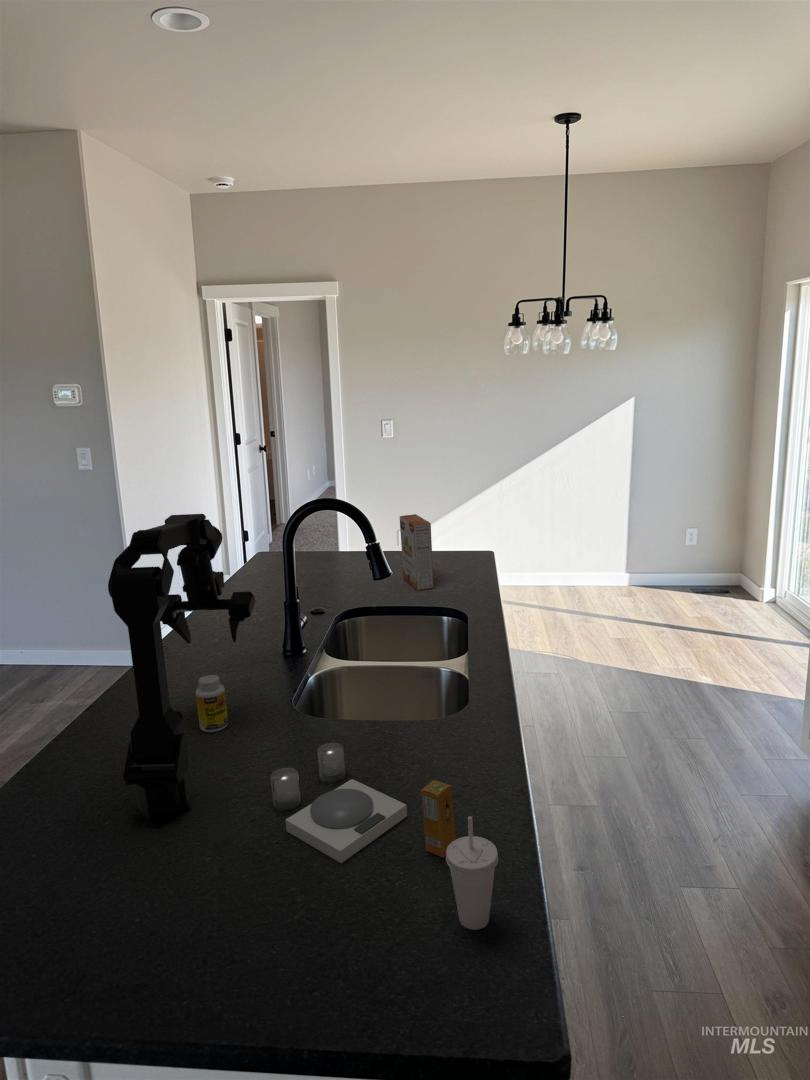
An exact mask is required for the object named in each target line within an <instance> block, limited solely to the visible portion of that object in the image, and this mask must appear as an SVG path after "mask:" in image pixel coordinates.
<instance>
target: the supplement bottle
mask: <svg viewBox="0 0 810 1080" xmlns="http://www.w3.org/2000/svg"><path fill="white" fill-rule="evenodd" d="M220 680H221V679H220V677H219V676H218V675H217V674H209V675H204V676H202V677H199V678H198V680H197V681H198V687H197V689H196V690H195V701H196V707H197V716H198V723H199V724H198V725H199V729H200V730H201V731H203V732H205V733H215V732H219V731H221V730H224V729H225V728H226V727H227V726H228V725H229V717H228V706H227V697H226V689H225V686H224V685H223V684H221V681H220Z"/></svg>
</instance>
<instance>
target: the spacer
mask: <svg viewBox="0 0 810 1080" xmlns="http://www.w3.org/2000/svg"><path fill="white" fill-rule="evenodd" d="M269 778H270V785H271V787H270V788H271V797H272V805H273V808H274V809H276V810H277V811H289V810H293V809H295V808H297V807H298V806H299V805H300V804H301V803H302V801H301V799H302V798H301V791H300V789H301V788H300V779H299V771H298V769H295V768H293V767H282V768H278V769H275V770H274V771H273V772H272V773H271V774H270V775H269Z"/></svg>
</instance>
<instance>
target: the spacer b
mask: <svg viewBox="0 0 810 1080" xmlns="http://www.w3.org/2000/svg"><path fill="white" fill-rule="evenodd" d="M316 751H317V763H318V772H319V773H318V775H319V779H320V781H321V782H324V783H331V784H333V783H337V782H340V781H343V779H344V778H345V777H346V767H345V766H346V765H345V755H344V754H345V753H344V752H345V751H344V746H343V745H342V744H341V743H338V742H327V743H323V744H321V745H320V746H319V747H318V748H317V750H316Z"/></svg>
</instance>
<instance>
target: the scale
mask: <svg viewBox="0 0 810 1080" xmlns="http://www.w3.org/2000/svg"><path fill="white" fill-rule="evenodd" d="M407 807H408V806H407V804H405V803H403V802H402V801H399V800H397V799H395V798H393V797H391V796H390V795H387V794H385V793H383V792H381V791H378V790H377V789H374V788H372V787H370V786H367V785H366V784H364V783H361V782H359V781H357V780H355V779H353V778H352V779H350V780H348V781H347V782H345V783H343V784H342V785H339V786H338V787H337V788H335V789H333V790H330V791H327V792H325V793H323V794H321V795H319V796H318V797H316V798H315V799H314V800H313V802H312V803H310V804H309V805H307V806H306V807H304V808H302V809H301V810H299V811H297V812H295V813H294V814H292V815H290V816H289V817H287V818H286V819H285V831H286V832H287V833H289V834H290V835H292V836H294V837H295V838H297V839H298V840H300V841H302V842H304V843H306V844H307V845H310V846H311V847H313V849H316V850H318V851H319V852H321V853H323V854H324V855H326V856H328V857H329V858H331V859H333V860H334V861H336V862H338V863H340V864H343V863H345V861H347V860H348V859H350V858H351V857H353V856H354V855H355V854H357V852H359V851H361V850H362V849H364V848H365V847H366V846H367V845H370V843H372V842H374V841H375V840H376V839H377V838H379V837H380V836H382V835H383V834H385V832H387V831H389V830H390V829H392V828H393V827H394V826H396V825H397V824H399V822H401V821H403V820H405V818H407V817H408V809H407Z"/></svg>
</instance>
